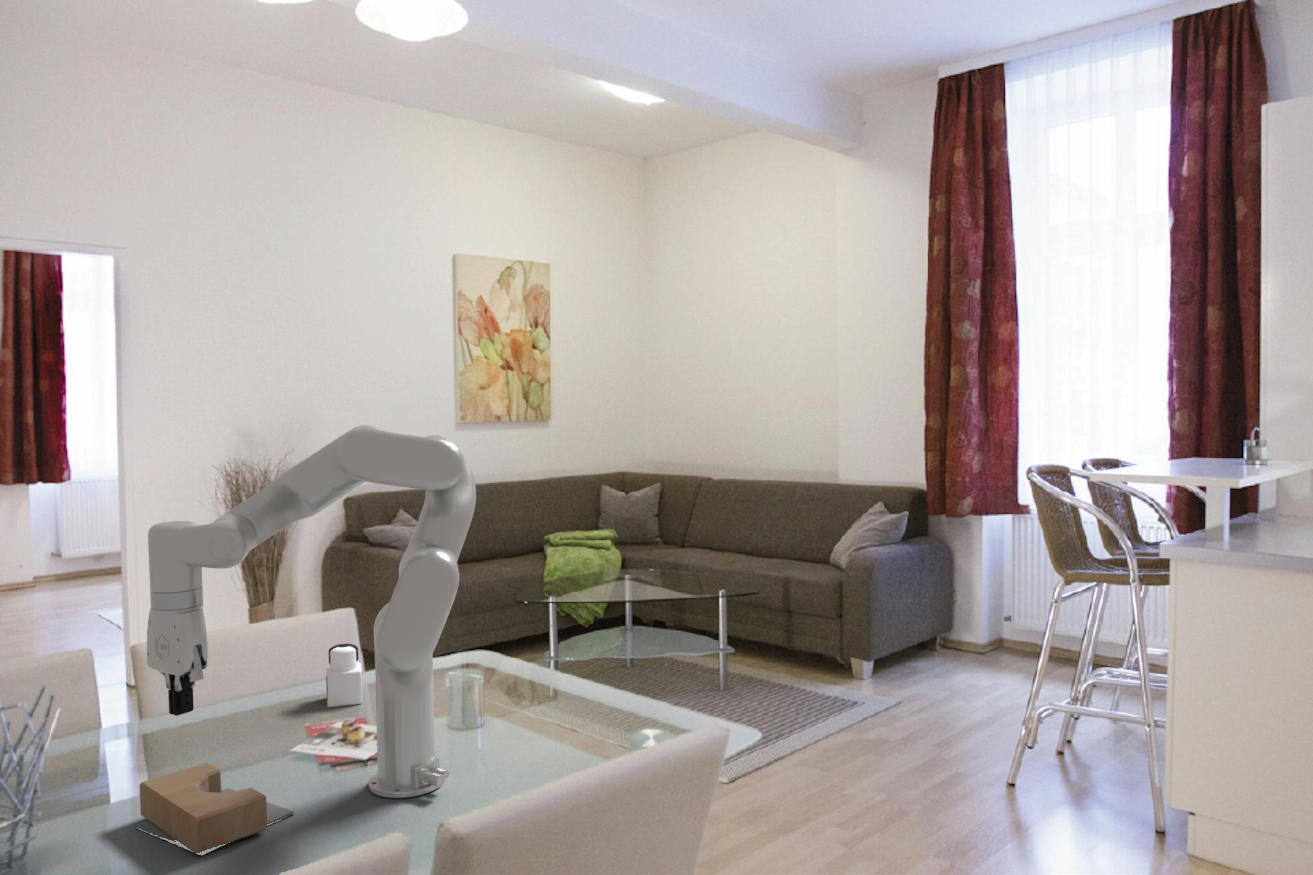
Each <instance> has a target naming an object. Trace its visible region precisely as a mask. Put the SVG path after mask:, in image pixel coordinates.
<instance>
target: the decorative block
mask: <svg viewBox="0 0 1313 875" xmlns="http://www.w3.org/2000/svg"><path fill="white" fill-rule="evenodd" d="M221 791H222V774H221V769H220V768H217V767H215V766H214V765H212V764H210V763H209V762H205V763H202V764H198V765H195V766H192V767H188V768H185V769H181V770H179V771H175V772H172V773H168V774H164V775H161V776H158V777H155V778H152V779H148V780H144V781H142V782H140V784H139V805H140V807H139V809H140V815H141V816H142V817H143V818H145V819H146V820H149V821H150V822H152V823H153V824H155V825H156V826H157V827H159V828H160V829H162V830H163V831H164V832H166V833H167V834H169V835H170V836H171V837H173V838H174V839H176V840H177V841H179V842H180V843H181V844H183V845H184V846H186V847H187V848H188V849H190V850H191V851H193V852H194V853H200V852H202V851H205V850H207V849H211V848H213V847H217V846H219V845H223V844H227V843H229V842H232V843H234V842H233V841H235V840H237V841H239V840H242V839H244V838H247V837H250V836H253V835H256V834H258V833H261V832H263V831H265V830H267V828H268V827H267V804H266V802H267V796H266V795H264V793H262V792H260V791H258V790H256V789H255V788H252V787H247V788H244V789H238V790H235V791H233V792H222V793H221ZM241 838H242V839H241ZM238 839H239V840H238ZM235 842H236V841H235ZM194 853H193V854H194Z"/></svg>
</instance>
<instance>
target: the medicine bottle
mask: <svg viewBox="0 0 1313 875" xmlns="http://www.w3.org/2000/svg"><path fill="white" fill-rule="evenodd" d="M325 672H326V676H325V677H326V678H325V680H326V681H325V683H326V707H327V708H334V707H335V708H337V707H343V706H344V707H346V706H352V705H353V706H355V705H362V704H363V677H362V676H363V675H362V663H361V662H359V647H358V646H357V645H355V644H353V643H340V644H336V645H333V646H332V647H330V648H329V649H328V665H327V666H326V670H325Z"/></svg>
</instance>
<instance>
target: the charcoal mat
mask: <svg viewBox="0 0 1313 875" xmlns="http://www.w3.org/2000/svg"><path fill="white" fill-rule="evenodd" d="M233 791H236V790H234V789H231V788H229V787H228V788H227V787H226V788H225V789H221V793H222V792H233ZM266 804H267V824H270V823H272V822H275V821H277V820H280V819H284V818H286V817H288V818H290V817H291V816H290V815H292V816H294V815H293V814H294V813H295V812H294V810H291V809H289V808H286V807H282V806H280V805H276V804H275V803H271V802H268V801H266ZM289 816H290V817H289ZM286 819H287V818H286ZM284 820H285V819H284ZM135 827H136V828H139V829H141V830H143V831H146V832H148V833H152V834H153V835H157V836H158V837H162V838H166V839H168V840H172V841H174V840H176V839H174V838H173V837H171V836H170V835H169V834H167V833H166V832H164V831H163V830H162V829H160V828H159V827H157V826H156V825H155V824H153V823H152V822H150V821H149V820H148V819H146V820H144V821H142V822H139V823H137V824H134V828H135ZM174 842H176V841H174Z"/></svg>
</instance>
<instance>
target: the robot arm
mask: <svg viewBox="0 0 1313 875" xmlns="http://www.w3.org/2000/svg"><path fill="white" fill-rule="evenodd" d="M365 482H367V483H372V484H379V485H385V486H391V487H400V488H408V489H416V490H422V491H423V490H425V494H424V495H425V496H424V497H425V498H424V503H423V506H422V509H421V511H420V514H419V517H418V520H417V523H416V526H415V528H414V531H413V532H412V533H413V534H411V535H412V536H411V538H410V541H409V543H408V545H407V547H406V550H405V551H404V554H403V556H402V558H401V559H400V561H399V566H398V578H397V582H396V585H395V587H394V589H393V592H392V595H391V597H390V600H389V602H388V603H387V604H386V605H384V606H383V607H382V608H381V609H380V611H378V614H377V615H376V618H375V620H374V623H373V644H374V645H373V646H374V668H375V669H374V670H375V672H374V673H375V674H374V675H375V709H376V710H375V711H376V712H375V713H376V718H375V719H376V743H377V744H376V745H377V746H376V748H377V749H376V750H377V771H376V772H375V773H373V774H372V775H371V776H370V778H369V779H368V789H369V790H370V792H372V793H373V794H374V795H377V796H379V797H383V798H388V799H404V798H405V799H407V798H414V797H418V796H422V795H426V794H428V793H432V792H433V791H435V790H437V789H438V788H441V787H443V785H444V784H445V782H446V780H447V779H448V778H449V776H450V771H449V770H448V769H444V768H442V767H440V757H437V756H436V754H435V753H436V752H435V750H436V749H435V745H436V743H435V713H434V712H435V711H434V710H435V709H434V703H435V702H434V693H435V692H434V691H435V690H434V687H435V686H434V658H433V657H434V656H433V653H434V651H435V649H436V647H437V644H438V642H439V640H440V637H441V635H442V632H443V630H444V627H445V625H446V623H447V620H448V617H449V615H450V612H451V609H452V606H453V604H454V602H455V599H456V596H457V593H458V589H459V586H460V585H459V584H460V572H459V570H460V569H459V567H458V566H459V565H458V561H459V558H460V554H461V552H462V549H463V547H464V544H465V542H466V538H467V534H468V531H469V529H470V526H471V523H472V519H473V517H474V513H475V509H476V503H477V488H476V487H477V486H476V482H475V477H474V473H473V471H472V468H471V465H470V464H469V462H468V460H467V458H466V457H465V456H464V455H463V453H462V451H461V449H460V448H459V447H458V446H457V445H456V444H455V442H454V441H452V440H451V439H449V438H447V437H445V436H442V435H439V434H434V435H433V434H432V435H427V436H419V435H410V434H403V433H398V432H391V431H385V430H381V429H379V428H378V427H375V426H372V425H368V424H367V425H358V426H356V427H354V428H351V429H350V430H347V432H345V433H343V434H341V435H340V436H339V437H336V438H335V439H334V440H332V441H331V442H329V443H328V444H326V445H324V446H323V447H321V448H320V449H319V450H317V451H315V452H314V453H313V454H311V455H309V456H308V457H306V458H304V459H303V460H302V461H300V462H299V463H296V464H295V465H294V466H292V467H290V468H288V470H286V471H285V472H283V473H281V475H279V476H278V477H277V478H276V479H274V481H272V482H271V483H269V484H268V485H266V486H265V487H264V488H262V489H261V490H259V491H257V492H256V493H254V494H252V495H251V496H250V497H249V498H247V499H245V500H243V501H242V502H241V503H239V504H237V505H236V506H234V507H233V508H231V509H229V510H227V511H226V512H224V513H223V514H222V515H220V516H218V517H217V518H215V519H214V520H213V521H211V522H210V523H206V524H200V525H199V524H197V523H195V522H193V521H189V520H171V521H163V522H160V523H159V522H158V523H155V524H153V525H152V526H151V527H150V528H149V529H148V533H147V545H148V547H147V548H148V568H149V570H148V571H149V591H150V592H149V594H150V609H149V613H148V620H147V630H146V662H147V663H146V664H147V666H148V667H149V668H150V669H152V670H154V671H157V672H159V673H160V674H162V676H164V680H165V687H166V689H167V690H168V692H167V693H168V713H169V714H170V715H174V716H176V717H178V716H181V715H185V714H187V713H190V712H193V711H194V708H195V707H194V687H195V686H196V682H199V681H202V680H203V679H204V672H203V670H205V669H206V668H207V667H208V664H209V643H208V642H209V640H208V634H207V633H208V632H207V625H206V619H205V615H204V609H203V607H204V595H203V593H204V591H203V588H204V587H203V568H208V569H217V570H218V569H229V568H230V569H231V568H233V567H236V566H238V565H239V564H241V563H242V562H243V561H244V560H245V558H246V557H247V556H248V554H249V553H250V551H252V550H253V549H254V548H256V547H257V546H259V545H260V544H262V543H264V542H265V541H266V540H268V539H269V538H272V536H274V535H276V534H277V533H278V532H280V531H282V530H283V529H285V528H287V527H289V526H290V525H291V524H294V523H295V522H299V521H300V520H304V519H307V518H310V517H313V516H315V515H316V514H318V513H321V512H322V511H323V510H325V509H327V508H328V507H330V506H331V505H332V504H334V503H336V502H337V501H338V500H340V499H341V498H343V497H345V496H346V495H348V494H349V493H350V492H353V491H354V490H356V489H357V488H358V487H361V485H362V484H364V483H365Z"/></svg>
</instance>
